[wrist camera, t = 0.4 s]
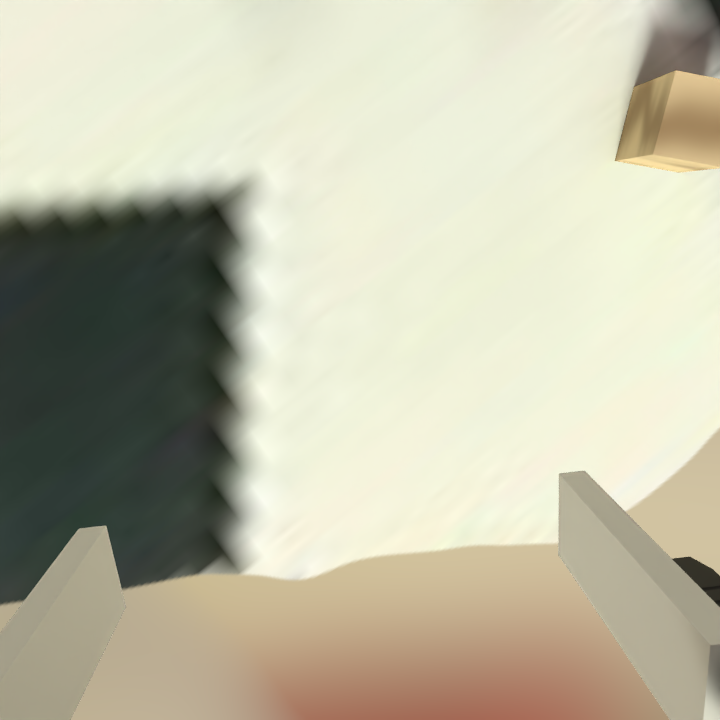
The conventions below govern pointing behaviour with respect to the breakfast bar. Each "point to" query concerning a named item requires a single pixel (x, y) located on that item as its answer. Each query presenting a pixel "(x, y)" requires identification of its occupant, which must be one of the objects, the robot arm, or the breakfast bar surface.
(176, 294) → the breakfast bar surface
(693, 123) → the oak block
